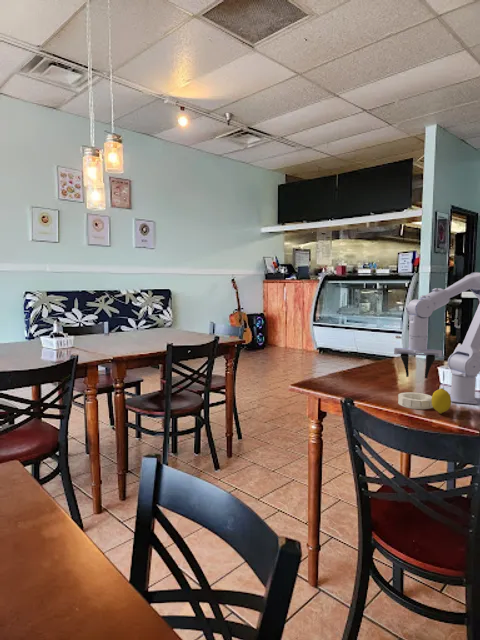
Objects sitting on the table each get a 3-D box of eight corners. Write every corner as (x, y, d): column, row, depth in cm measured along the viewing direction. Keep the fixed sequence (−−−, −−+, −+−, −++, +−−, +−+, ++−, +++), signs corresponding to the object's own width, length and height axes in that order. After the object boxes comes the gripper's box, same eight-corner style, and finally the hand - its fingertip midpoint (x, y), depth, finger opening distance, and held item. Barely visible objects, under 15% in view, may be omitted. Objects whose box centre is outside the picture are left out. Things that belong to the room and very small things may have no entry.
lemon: (426, 412, 138) (428, 387, 138) (439, 410, 141) (440, 385, 140) (441, 417, 133) (442, 391, 133) (454, 415, 135) (455, 389, 135)
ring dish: (398, 399, 154) (398, 391, 154) (432, 402, 150) (432, 394, 150) (397, 407, 144) (398, 398, 143) (434, 410, 140) (435, 402, 140)
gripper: (394, 336, 144) (393, 377, 145) (443, 338, 139) (441, 381, 140) (394, 334, 150) (393, 373, 151) (441, 336, 145) (439, 376, 146)
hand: (416, 376), depth 146 cm, fingers open, 5 cm apart
